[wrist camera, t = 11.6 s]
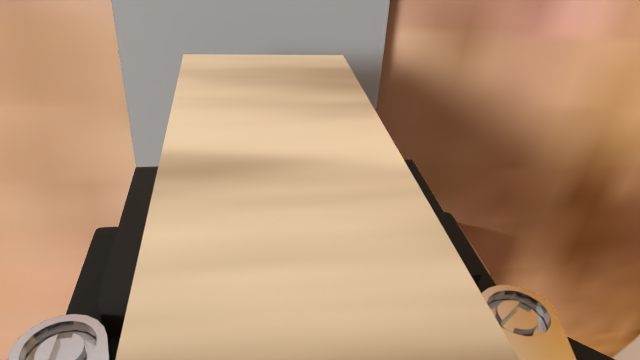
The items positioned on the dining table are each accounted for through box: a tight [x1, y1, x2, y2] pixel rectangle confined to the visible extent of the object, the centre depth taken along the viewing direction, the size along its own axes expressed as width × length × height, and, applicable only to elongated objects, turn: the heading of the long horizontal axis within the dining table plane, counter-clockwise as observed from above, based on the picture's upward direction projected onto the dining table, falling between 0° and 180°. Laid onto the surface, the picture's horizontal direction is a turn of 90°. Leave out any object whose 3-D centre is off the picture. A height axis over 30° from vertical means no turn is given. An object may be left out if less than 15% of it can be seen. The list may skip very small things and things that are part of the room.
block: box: [115, 54, 520, 360], centre depth 11 cm, size 4×4×12 cm
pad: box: [111, 0, 390, 167], centre depth 19 cm, size 13×9×1 cm
